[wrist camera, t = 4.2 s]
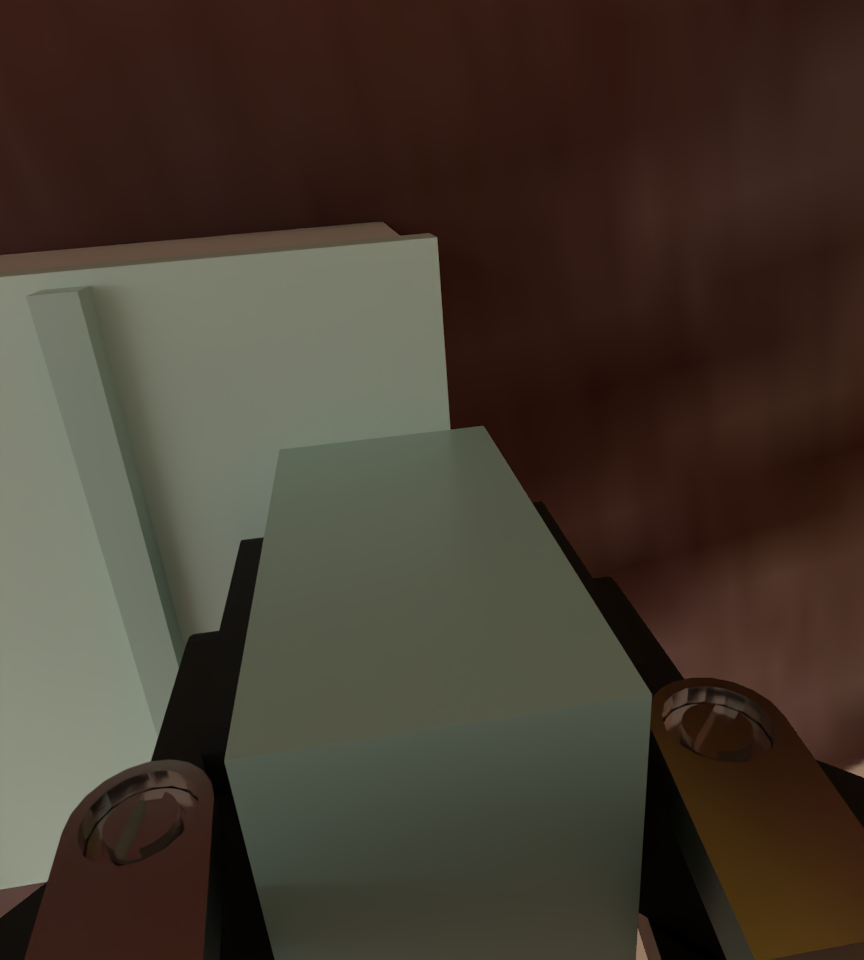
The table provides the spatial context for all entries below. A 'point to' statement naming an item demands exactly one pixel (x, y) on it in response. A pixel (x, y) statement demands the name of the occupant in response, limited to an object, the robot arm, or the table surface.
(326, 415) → the lid
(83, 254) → the tub
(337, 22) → the table surface
